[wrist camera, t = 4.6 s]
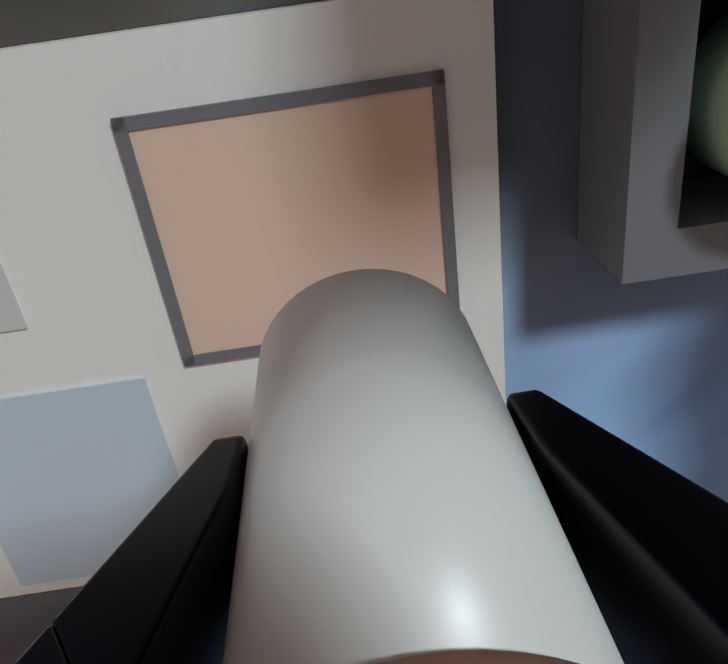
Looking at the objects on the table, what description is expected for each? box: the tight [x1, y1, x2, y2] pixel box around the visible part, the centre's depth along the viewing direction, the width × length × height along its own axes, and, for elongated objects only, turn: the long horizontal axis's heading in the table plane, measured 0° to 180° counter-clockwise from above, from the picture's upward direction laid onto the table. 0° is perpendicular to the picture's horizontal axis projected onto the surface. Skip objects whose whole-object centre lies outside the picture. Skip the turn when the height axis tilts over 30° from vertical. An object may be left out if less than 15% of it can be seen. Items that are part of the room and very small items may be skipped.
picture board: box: [0, 0, 506, 598], centre depth 19 cm, size 20×16×1 cm
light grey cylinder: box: [223, 269, 624, 664], centre depth 8 cm, size 4×4×8 cm
